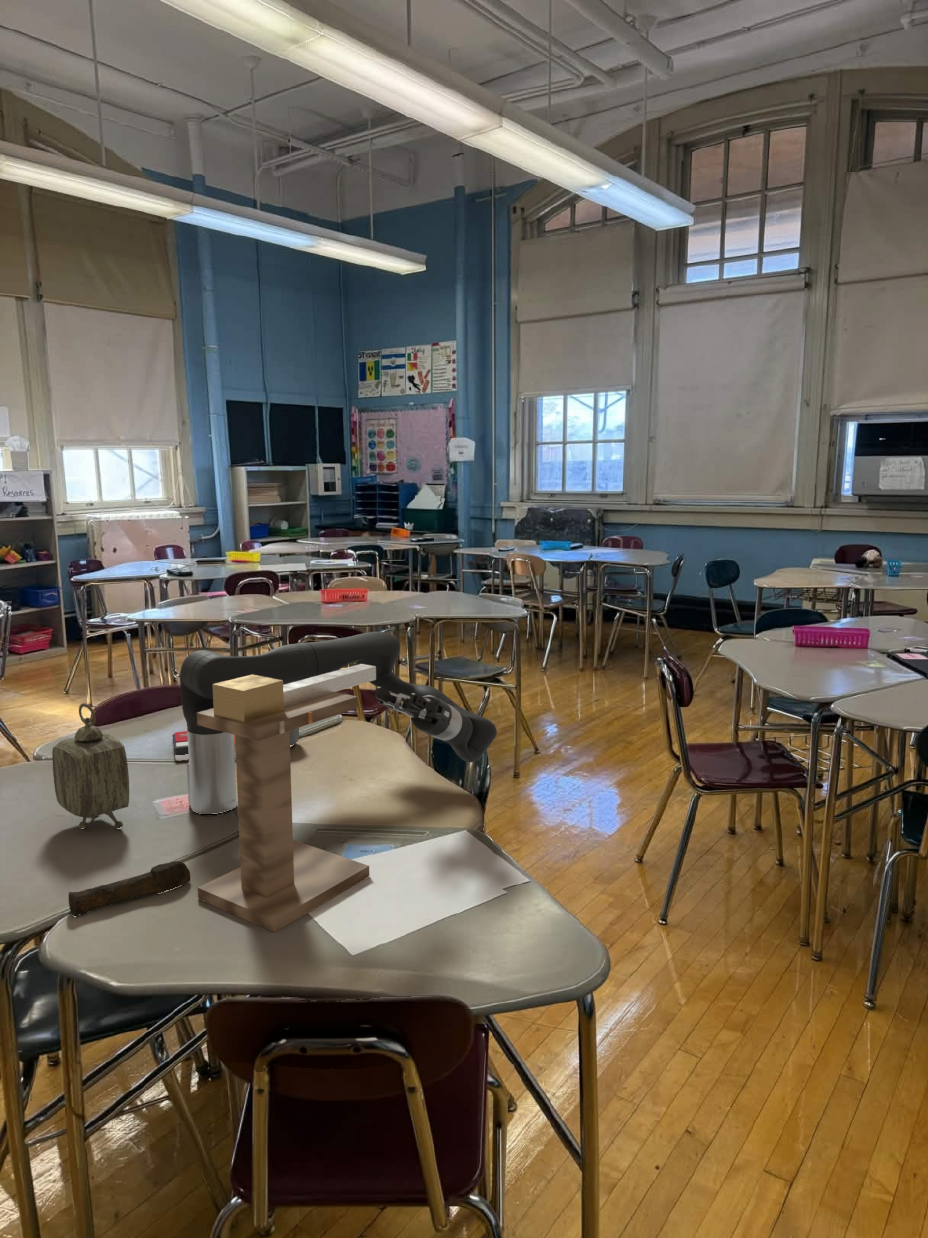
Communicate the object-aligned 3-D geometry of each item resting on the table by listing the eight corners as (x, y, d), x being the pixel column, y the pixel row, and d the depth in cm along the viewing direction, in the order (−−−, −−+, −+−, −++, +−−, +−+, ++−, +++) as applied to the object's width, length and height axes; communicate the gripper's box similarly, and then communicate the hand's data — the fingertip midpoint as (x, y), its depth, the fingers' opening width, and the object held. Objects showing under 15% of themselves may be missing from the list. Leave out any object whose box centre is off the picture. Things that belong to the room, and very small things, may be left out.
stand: (198, 899, 137) (188, 710, 132) (295, 850, 155) (290, 683, 149) (274, 932, 127) (267, 730, 122) (369, 876, 145) (366, 698, 139)
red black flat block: (215, 727, 221) (221, 740, 207) (216, 742, 221) (221, 757, 207) (172, 731, 217) (174, 745, 203) (172, 747, 217) (175, 762, 203)
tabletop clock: (132, 829, 164) (124, 706, 160) (85, 844, 157) (76, 716, 153) (100, 809, 173) (91, 693, 169) (55, 822, 167) (45, 701, 163)
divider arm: (213, 715, 129) (212, 684, 128) (354, 675, 155) (354, 649, 155) (244, 723, 125) (243, 690, 124) (383, 681, 151) (383, 654, 151)
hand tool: (72, 923, 130) (70, 895, 129) (68, 912, 133) (66, 885, 132) (194, 890, 140) (193, 865, 139) (188, 881, 144) (186, 856, 143)
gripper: (415, 696, 178) (371, 671, 165) (470, 706, 170) (429, 681, 157) (404, 729, 176) (359, 707, 163) (460, 741, 168) (417, 719, 155)
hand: (394, 694), depth 160 cm, fingers open, 8 cm apart
